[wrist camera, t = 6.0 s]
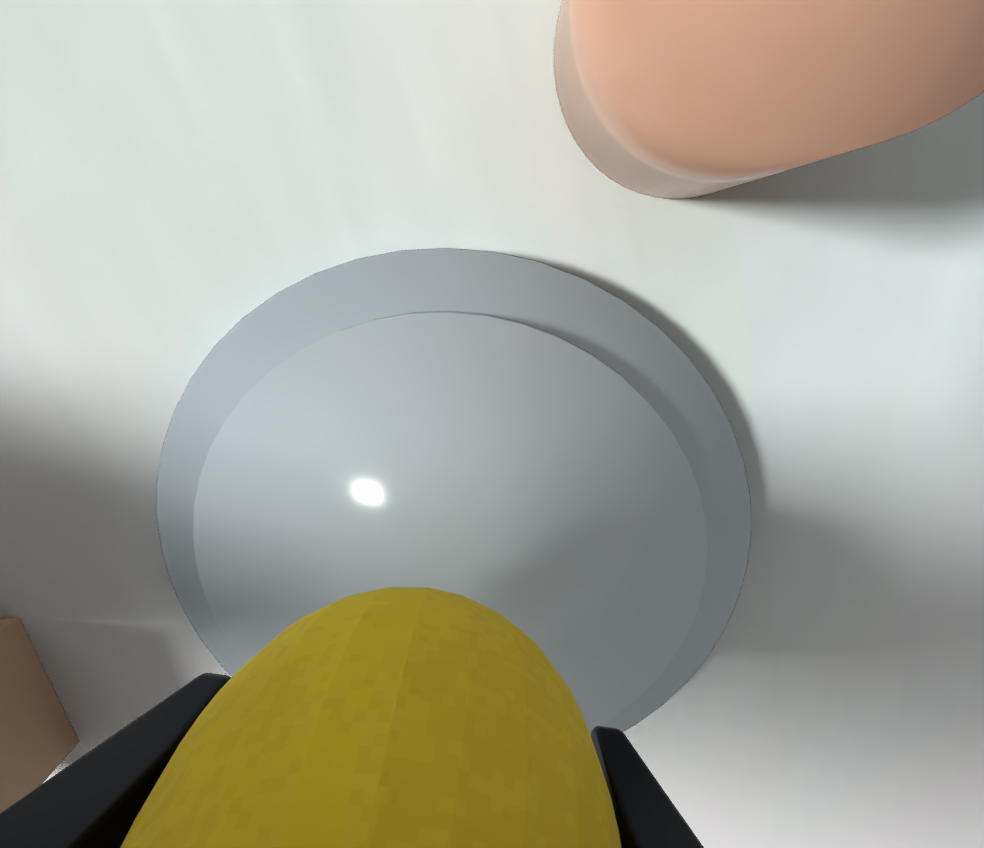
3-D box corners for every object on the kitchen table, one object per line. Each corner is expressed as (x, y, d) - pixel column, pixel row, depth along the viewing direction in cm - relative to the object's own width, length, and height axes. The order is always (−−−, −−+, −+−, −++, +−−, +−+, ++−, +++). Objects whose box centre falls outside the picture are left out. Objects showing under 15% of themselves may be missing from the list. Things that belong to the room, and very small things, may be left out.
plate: (184, 717, 15) (157, 756, 14) (155, 197, 10) (112, 191, 9) (657, 782, 15) (670, 825, 14) (825, 304, 11) (863, 310, 10)
